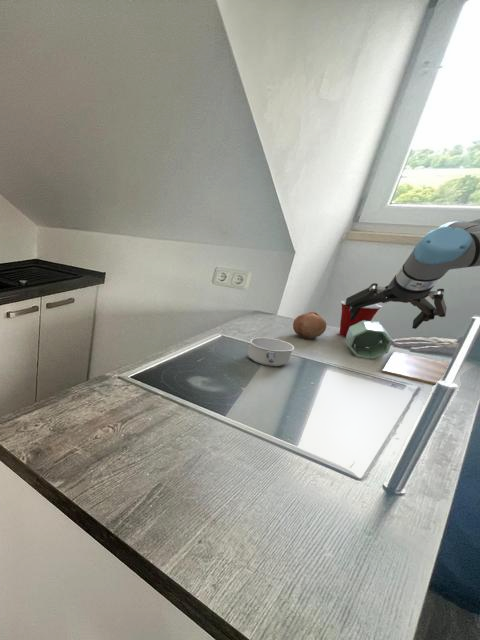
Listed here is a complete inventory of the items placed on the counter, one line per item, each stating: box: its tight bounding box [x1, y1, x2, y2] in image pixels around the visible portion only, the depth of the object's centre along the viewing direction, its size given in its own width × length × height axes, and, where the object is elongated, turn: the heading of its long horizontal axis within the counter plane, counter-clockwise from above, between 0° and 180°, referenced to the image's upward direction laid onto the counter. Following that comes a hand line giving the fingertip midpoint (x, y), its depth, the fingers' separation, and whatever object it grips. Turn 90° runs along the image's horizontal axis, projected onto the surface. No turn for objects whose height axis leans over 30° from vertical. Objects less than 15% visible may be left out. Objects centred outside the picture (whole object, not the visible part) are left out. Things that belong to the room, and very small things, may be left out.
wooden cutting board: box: [381, 351, 450, 386], centre depth 113 cm, size 20×12×1 cm, turn 130°
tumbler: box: [345, 320, 393, 360], centre depth 123 cm, size 10×9×9 cm
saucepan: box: [247, 337, 295, 367], centre depth 117 cm, size 12×20×6 cm, turn 147°
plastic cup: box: [339, 300, 383, 338], centre depth 136 cm, size 11×11×12 cm
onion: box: [292, 311, 327, 340], centre depth 137 cm, size 10×9×10 cm
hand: (382, 320), depth 113 cm, fingers open, 13 cm apart
